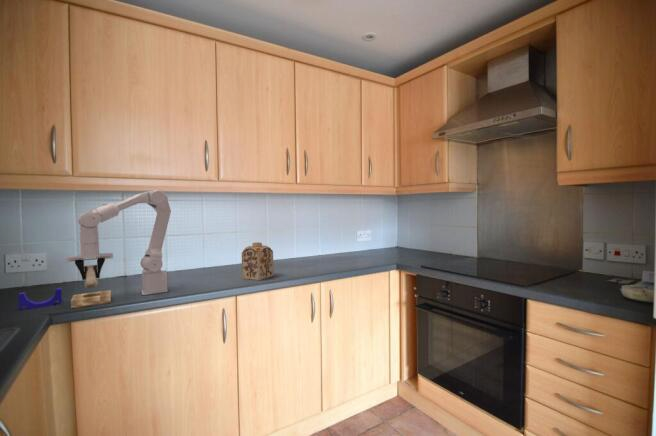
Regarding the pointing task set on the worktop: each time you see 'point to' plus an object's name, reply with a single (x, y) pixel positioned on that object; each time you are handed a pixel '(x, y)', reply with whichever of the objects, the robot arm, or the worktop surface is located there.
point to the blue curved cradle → (31, 304)
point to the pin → (91, 276)
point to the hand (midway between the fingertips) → (91, 278)
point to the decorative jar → (257, 262)
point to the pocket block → (91, 299)
